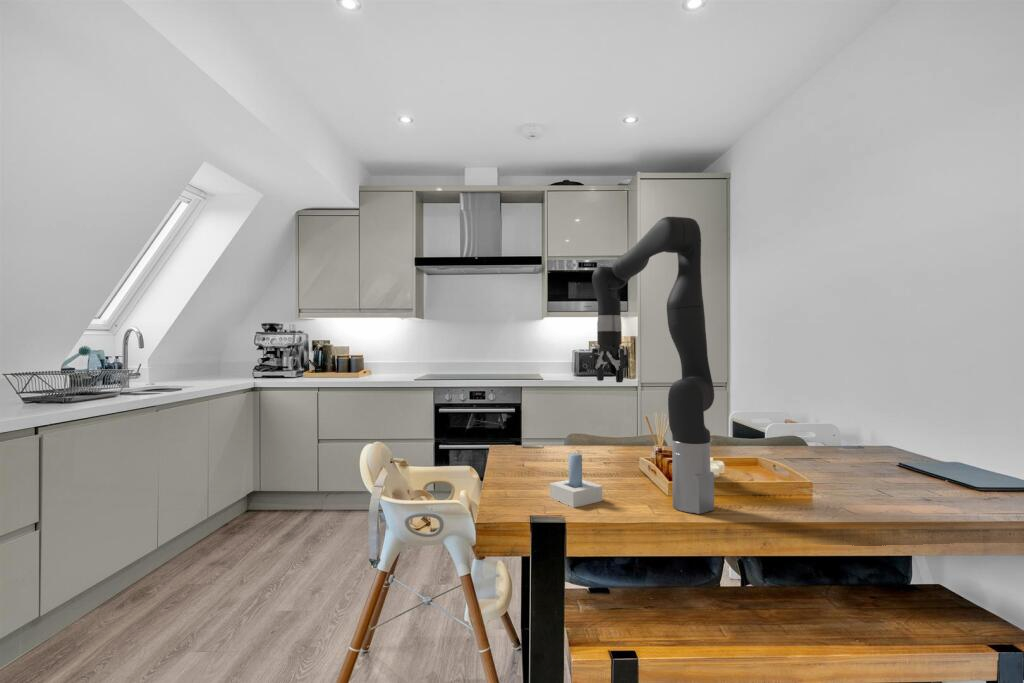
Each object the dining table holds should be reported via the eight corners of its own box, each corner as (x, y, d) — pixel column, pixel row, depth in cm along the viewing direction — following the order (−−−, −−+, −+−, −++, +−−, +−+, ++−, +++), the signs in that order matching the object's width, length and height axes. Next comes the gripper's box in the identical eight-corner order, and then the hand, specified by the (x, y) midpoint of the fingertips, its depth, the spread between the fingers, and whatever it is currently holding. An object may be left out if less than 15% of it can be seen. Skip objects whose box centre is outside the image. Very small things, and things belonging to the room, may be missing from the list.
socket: (602, 500, 140) (602, 486, 140) (573, 507, 134) (573, 492, 134) (578, 491, 148) (578, 477, 148) (550, 497, 143) (549, 483, 143)
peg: (585, 499, 141) (584, 455, 141) (574, 502, 139) (574, 457, 139) (576, 496, 144) (576, 453, 144) (566, 498, 142) (565, 454, 142)
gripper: (585, 330, 168) (585, 380, 168) (616, 329, 156) (617, 383, 156) (602, 330, 172) (603, 379, 172) (634, 329, 160) (634, 382, 160)
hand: (609, 381), depth 164 cm, fingers open, 8 cm apart
